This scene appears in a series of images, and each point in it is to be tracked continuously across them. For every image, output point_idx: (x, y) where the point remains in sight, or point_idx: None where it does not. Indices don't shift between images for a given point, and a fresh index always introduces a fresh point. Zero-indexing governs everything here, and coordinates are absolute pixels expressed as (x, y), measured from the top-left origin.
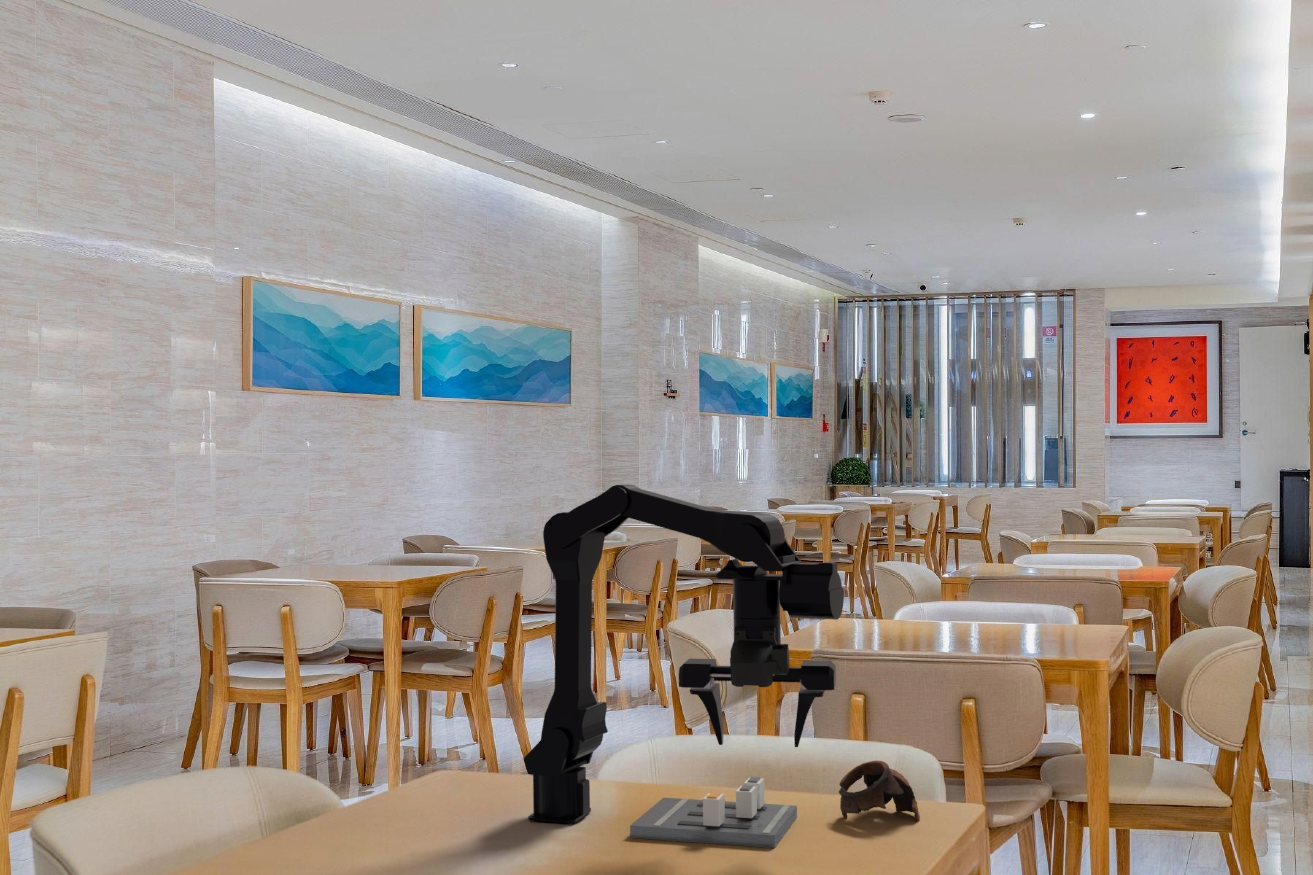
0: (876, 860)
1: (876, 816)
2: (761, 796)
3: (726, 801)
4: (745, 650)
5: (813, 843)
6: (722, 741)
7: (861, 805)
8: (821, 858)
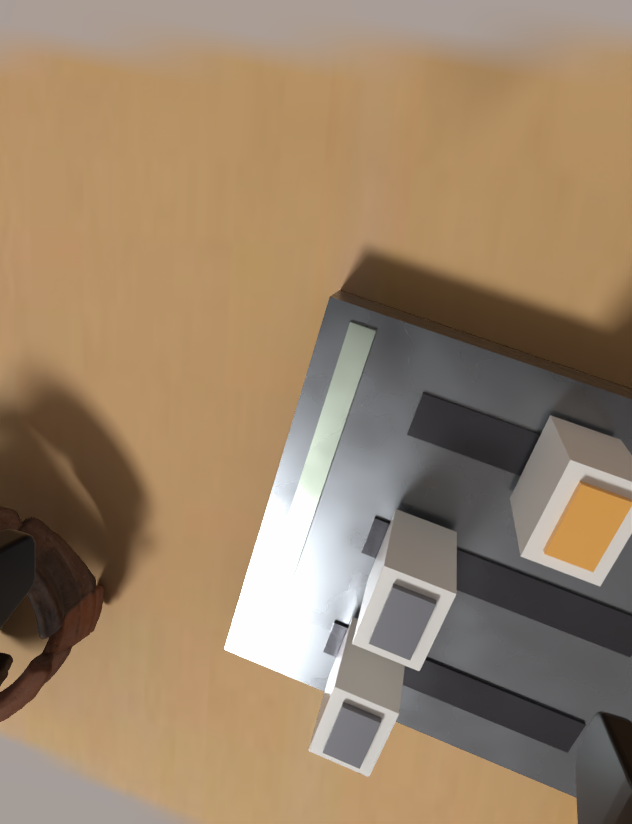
0: (7, 116)
1: None
2: (336, 666)
3: (460, 747)
4: None
5: (202, 338)
6: (592, 748)
7: (7, 524)
8: (183, 146)
